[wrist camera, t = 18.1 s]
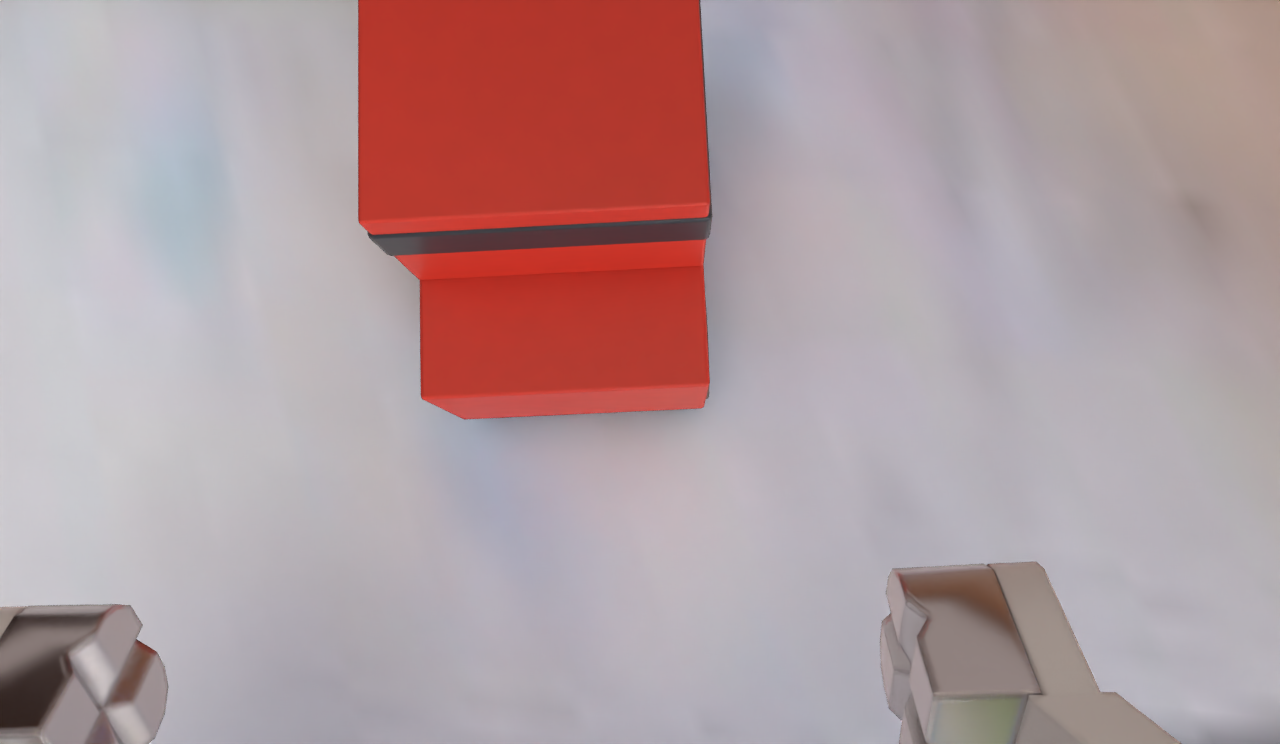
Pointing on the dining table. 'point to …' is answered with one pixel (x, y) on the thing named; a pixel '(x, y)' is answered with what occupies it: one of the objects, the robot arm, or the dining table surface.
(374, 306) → the dining table surface
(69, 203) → the dining table surface
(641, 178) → the red stepped block
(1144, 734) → the robot arm
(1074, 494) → the dining table surface
